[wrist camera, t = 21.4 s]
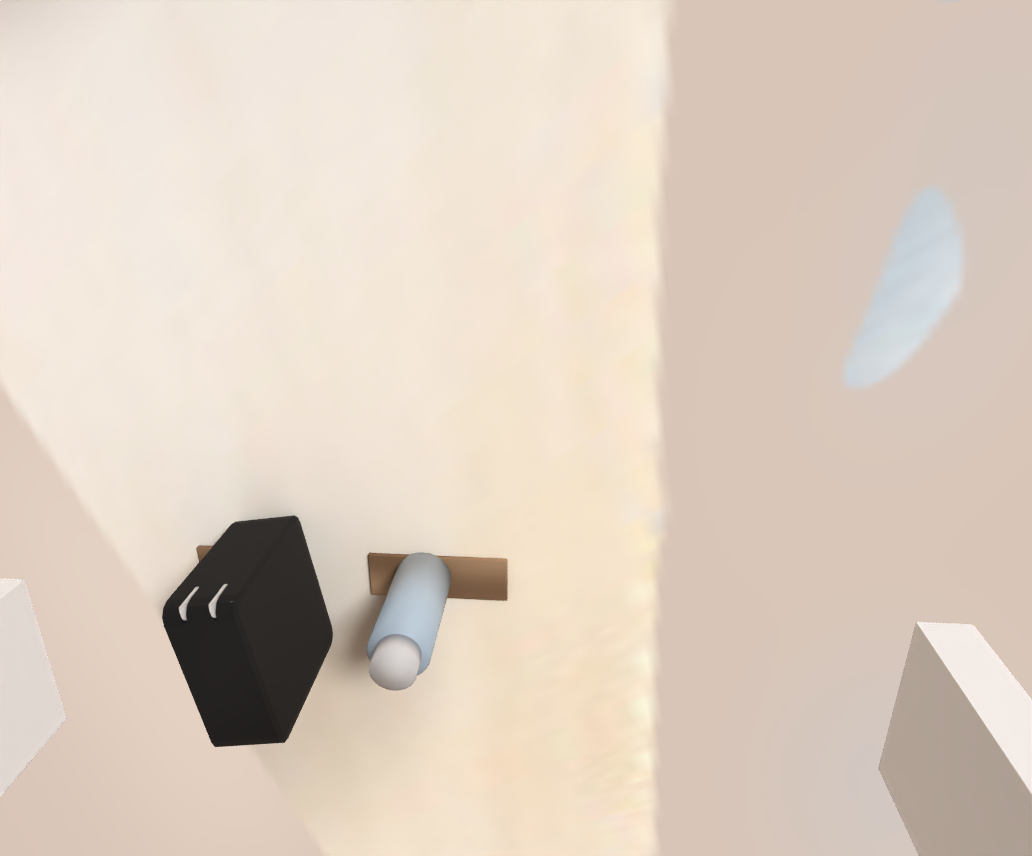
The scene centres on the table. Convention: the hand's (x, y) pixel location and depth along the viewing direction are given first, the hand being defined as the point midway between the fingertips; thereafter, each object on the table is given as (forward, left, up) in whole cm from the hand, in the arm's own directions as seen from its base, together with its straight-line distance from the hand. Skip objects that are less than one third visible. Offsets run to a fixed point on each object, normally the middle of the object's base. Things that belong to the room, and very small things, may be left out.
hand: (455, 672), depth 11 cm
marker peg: (+20, -7, -31) cm, 38 cm away
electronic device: (+21, -17, -32) cm, 42 cm away
